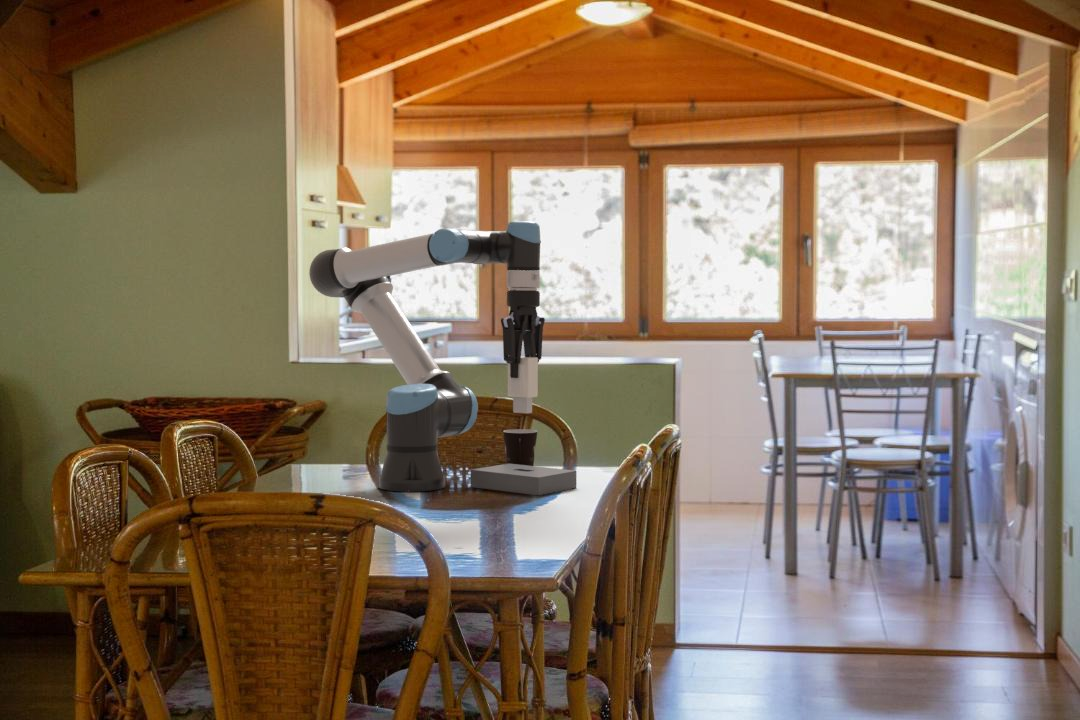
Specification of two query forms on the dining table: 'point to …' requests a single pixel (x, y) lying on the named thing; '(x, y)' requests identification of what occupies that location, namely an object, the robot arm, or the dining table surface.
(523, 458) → the coffee mug
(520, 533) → the dining table surface
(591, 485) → the dining table surface
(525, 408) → the plug
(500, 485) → the header
